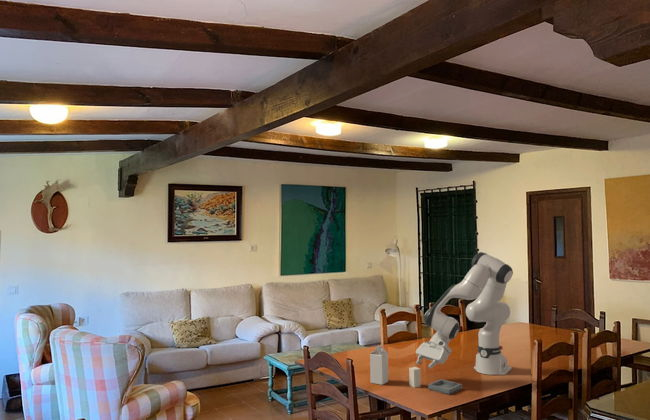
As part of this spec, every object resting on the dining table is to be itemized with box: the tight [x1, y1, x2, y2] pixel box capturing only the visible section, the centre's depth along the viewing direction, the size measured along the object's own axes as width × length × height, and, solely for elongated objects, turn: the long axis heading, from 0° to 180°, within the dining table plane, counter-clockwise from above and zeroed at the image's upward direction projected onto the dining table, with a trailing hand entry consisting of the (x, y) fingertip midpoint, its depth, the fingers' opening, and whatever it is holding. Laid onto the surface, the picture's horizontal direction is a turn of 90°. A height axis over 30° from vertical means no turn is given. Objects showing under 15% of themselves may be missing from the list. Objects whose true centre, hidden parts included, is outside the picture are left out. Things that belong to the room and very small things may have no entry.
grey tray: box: [427, 378, 463, 396], centre depth 246 cm, size 12×12×2 cm
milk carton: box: [369, 344, 389, 386], centre depth 259 cm, size 7×7×19 cm
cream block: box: [408, 366, 421, 388], centre depth 252 cm, size 4×4×9 cm
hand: (423, 365), depth 254 cm, fingers open, 8 cm apart
